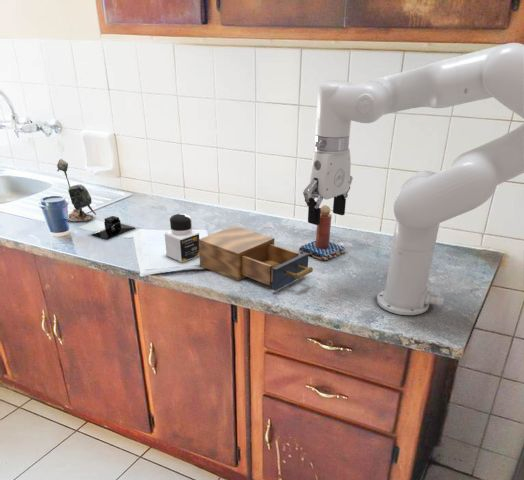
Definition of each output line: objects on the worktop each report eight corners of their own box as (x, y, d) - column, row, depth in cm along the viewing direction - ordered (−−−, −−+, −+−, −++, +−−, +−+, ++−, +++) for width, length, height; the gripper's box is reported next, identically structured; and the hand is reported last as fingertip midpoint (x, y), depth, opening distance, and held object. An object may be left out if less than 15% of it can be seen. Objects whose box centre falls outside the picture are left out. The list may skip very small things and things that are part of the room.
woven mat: (346, 252, 154) (347, 246, 153) (324, 262, 148) (324, 256, 147) (320, 243, 161) (320, 237, 159) (297, 252, 154) (297, 245, 153)
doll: (331, 245, 154) (335, 205, 147) (323, 249, 151) (327, 208, 144) (320, 242, 156) (323, 202, 149) (312, 246, 153) (315, 205, 146)
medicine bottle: (182, 263, 146) (178, 222, 140) (166, 256, 151) (162, 215, 144) (200, 255, 151) (198, 215, 144) (184, 249, 155) (182, 210, 148)
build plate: (106, 240, 160) (104, 226, 158) (90, 235, 164) (88, 221, 161) (135, 228, 169) (133, 214, 167) (119, 224, 172) (117, 210, 170)
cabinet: (273, 264, 147) (274, 238, 142) (238, 281, 137) (238, 253, 133) (235, 250, 155) (235, 225, 150) (199, 265, 145) (198, 239, 141)
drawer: (320, 278, 137) (322, 258, 134) (288, 296, 128) (289, 274, 125) (268, 260, 146) (269, 240, 143) (236, 275, 138) (235, 255, 135)
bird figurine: (86, 225, 171) (75, 163, 160) (60, 220, 175) (47, 159, 164) (102, 218, 177) (92, 157, 166) (76, 213, 181) (65, 153, 170)
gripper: (321, 152, 107) (316, 231, 116) (367, 140, 118) (360, 214, 127) (293, 147, 111) (291, 224, 121) (341, 135, 122) (335, 207, 131)
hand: (326, 218), depth 124 cm, fingers open, 9 cm apart
